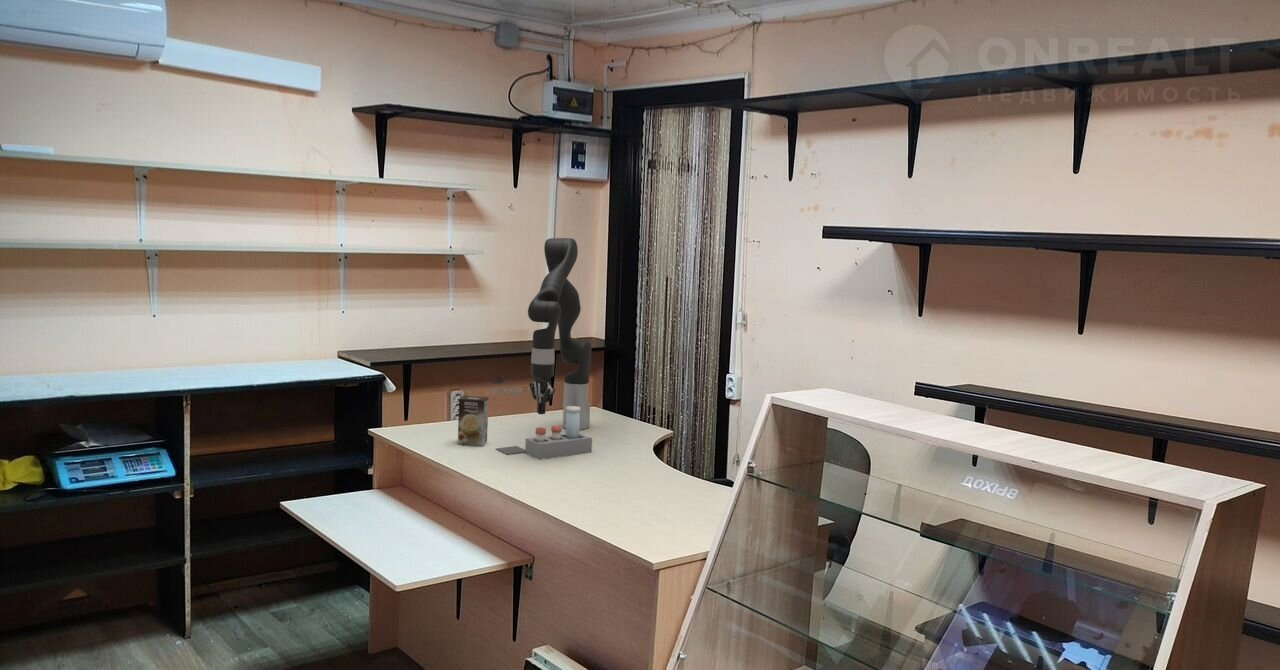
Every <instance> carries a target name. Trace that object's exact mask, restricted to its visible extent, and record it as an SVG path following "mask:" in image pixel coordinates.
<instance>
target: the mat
mask: <svg viewBox="0 0 1280 670" xmlns="http://www.w3.org/2000/svg"><path fill="white" fill-rule="evenodd" d="M495 450H496V451H497V450H498V452H500V451H501V452H500V453H502V452H503V453H502V454H504V453H505V454H504V455H506V454H507V455H506V456H509V454H512V455H517V454H518V453H519V454H526V453H525V449H524V448H523V447H521V446H518V445H512V446H505V447H504V446H503V447H499V448H495Z"/></svg>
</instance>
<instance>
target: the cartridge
mask: <svg viewBox="0 0 1280 670" xmlns="http://www.w3.org/2000/svg"><path fill="white" fill-rule="evenodd" d="M580 409H581V407H578V406H567V407H566V411H567V418H566V428H565V434H566V438H567V439H577V438H579V433H580V430H579V420H580Z"/></svg>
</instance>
